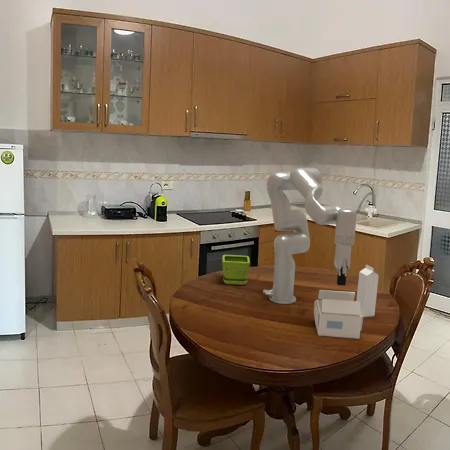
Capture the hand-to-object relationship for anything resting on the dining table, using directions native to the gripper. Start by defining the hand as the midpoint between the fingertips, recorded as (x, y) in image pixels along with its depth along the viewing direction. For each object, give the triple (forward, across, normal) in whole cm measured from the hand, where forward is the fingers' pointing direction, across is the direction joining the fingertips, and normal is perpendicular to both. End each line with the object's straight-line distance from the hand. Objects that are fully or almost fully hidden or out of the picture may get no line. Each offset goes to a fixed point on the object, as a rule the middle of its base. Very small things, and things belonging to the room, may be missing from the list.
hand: (341, 284), depth 196 cm
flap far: (+7, -7, 0) cm, 10 cm away
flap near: (+7, +6, 0) cm, 9 cm away
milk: (+19, -20, +14) cm, 31 cm away
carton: (+19, -1, 0) cm, 19 cm away
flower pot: (+18, -53, -46) cm, 72 cm away
